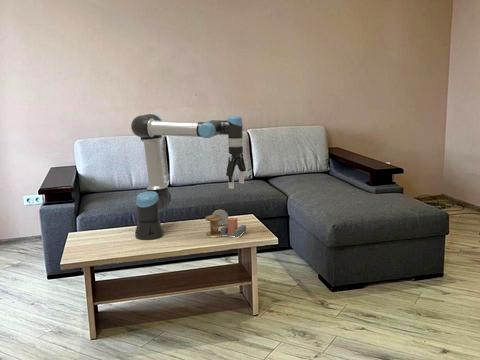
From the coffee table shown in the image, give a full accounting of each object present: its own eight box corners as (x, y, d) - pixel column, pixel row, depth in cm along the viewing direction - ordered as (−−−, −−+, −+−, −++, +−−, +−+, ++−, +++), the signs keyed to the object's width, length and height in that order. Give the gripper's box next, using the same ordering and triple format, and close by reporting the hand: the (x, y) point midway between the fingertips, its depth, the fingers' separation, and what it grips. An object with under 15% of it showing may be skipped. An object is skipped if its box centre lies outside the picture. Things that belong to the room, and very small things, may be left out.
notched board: (220, 236, 269) (220, 228, 268) (229, 230, 279) (229, 223, 278) (237, 238, 265) (237, 230, 264) (246, 232, 275) (245, 225, 274)
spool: (203, 236, 269) (202, 218, 267) (210, 231, 277) (210, 214, 275) (218, 238, 265) (217, 220, 263) (225, 233, 273) (225, 215, 271)
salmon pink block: (227, 233, 269) (227, 219, 268) (230, 231, 273) (230, 217, 271) (234, 234, 268) (234, 220, 266) (237, 232, 271) (237, 218, 270)
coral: (211, 216, 283) (210, 205, 291) (213, 230, 289) (213, 219, 297) (227, 214, 283) (227, 203, 291) (229, 228, 289) (229, 217, 297)
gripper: (232, 149, 250) (233, 191, 254) (251, 143, 272) (251, 181, 277) (218, 148, 253) (220, 190, 257) (238, 143, 275) (239, 181, 279)
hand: (236, 185), depth 267 cm, fingers open, 13 cm apart
